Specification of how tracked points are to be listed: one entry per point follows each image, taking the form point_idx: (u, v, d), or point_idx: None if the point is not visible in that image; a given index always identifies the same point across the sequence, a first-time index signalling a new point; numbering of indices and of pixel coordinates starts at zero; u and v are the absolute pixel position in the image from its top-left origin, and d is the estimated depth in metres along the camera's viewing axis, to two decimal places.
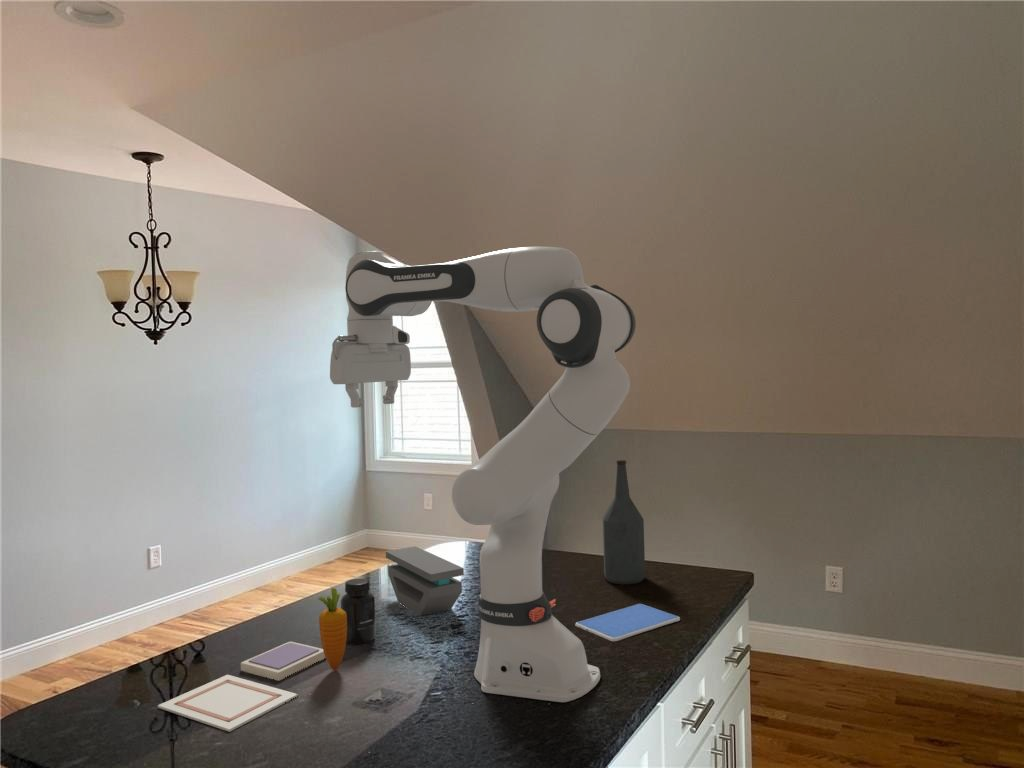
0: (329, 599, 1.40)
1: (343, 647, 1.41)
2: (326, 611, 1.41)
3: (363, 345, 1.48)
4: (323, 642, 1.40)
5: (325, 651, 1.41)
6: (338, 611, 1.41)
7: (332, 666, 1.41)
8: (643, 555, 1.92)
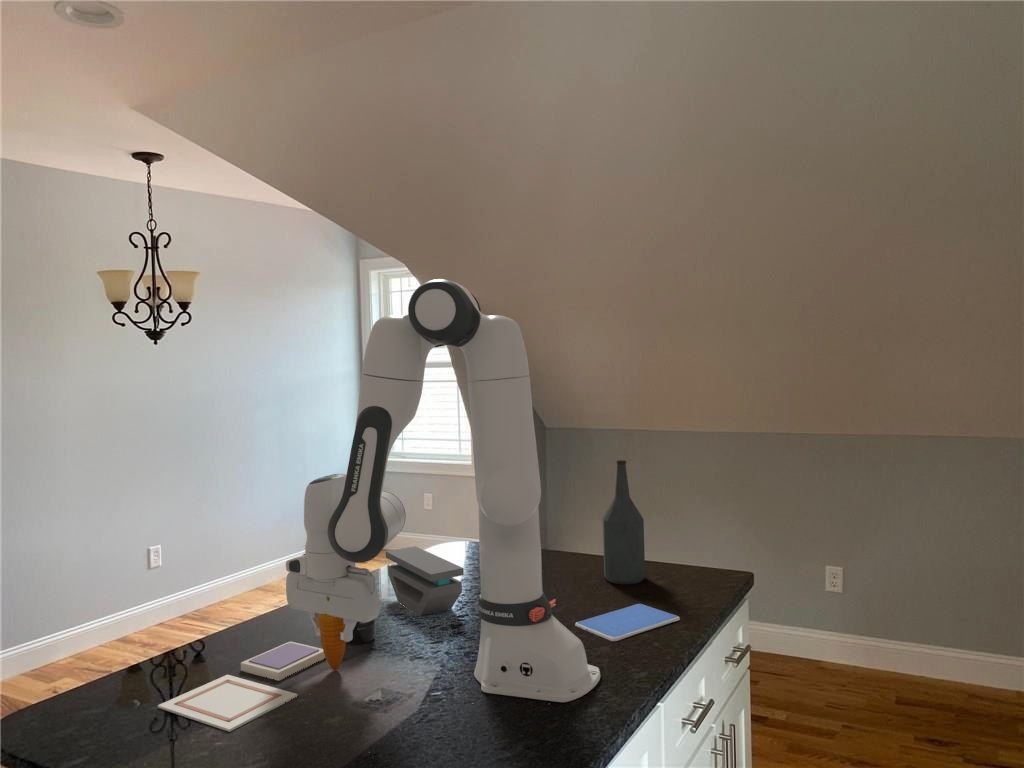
0: None
1: (343, 647, 1.41)
2: None
3: None
4: (323, 642, 1.40)
5: (325, 651, 1.41)
6: None
7: (332, 666, 1.41)
8: (643, 555, 1.92)
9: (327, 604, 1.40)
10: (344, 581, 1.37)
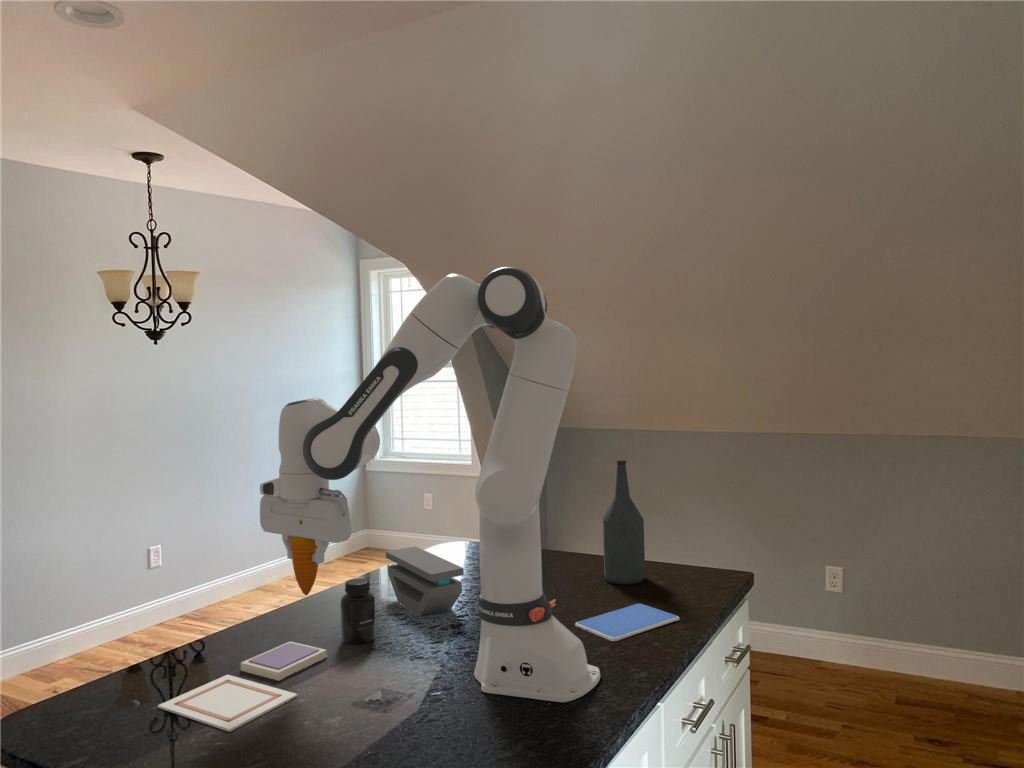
0: (301, 523, 1.41)
1: (314, 571, 1.43)
2: None
3: None
4: (295, 566, 1.42)
5: (296, 575, 1.42)
6: None
7: (303, 590, 1.42)
8: (643, 555, 1.92)
9: (300, 526, 1.41)
10: (316, 502, 1.39)
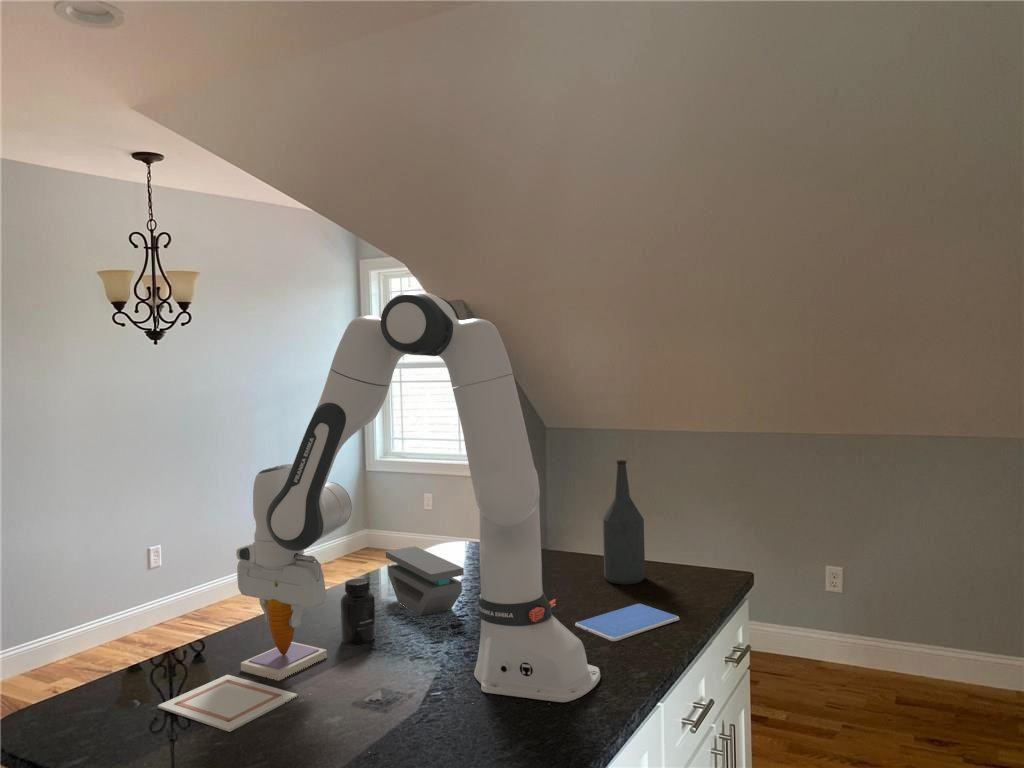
0: (277, 585, 1.43)
1: (291, 632, 1.45)
2: None
3: None
4: (271, 627, 1.44)
5: (273, 636, 1.44)
6: None
7: (280, 650, 1.45)
8: (643, 555, 1.92)
9: (276, 591, 1.44)
10: (291, 568, 1.41)
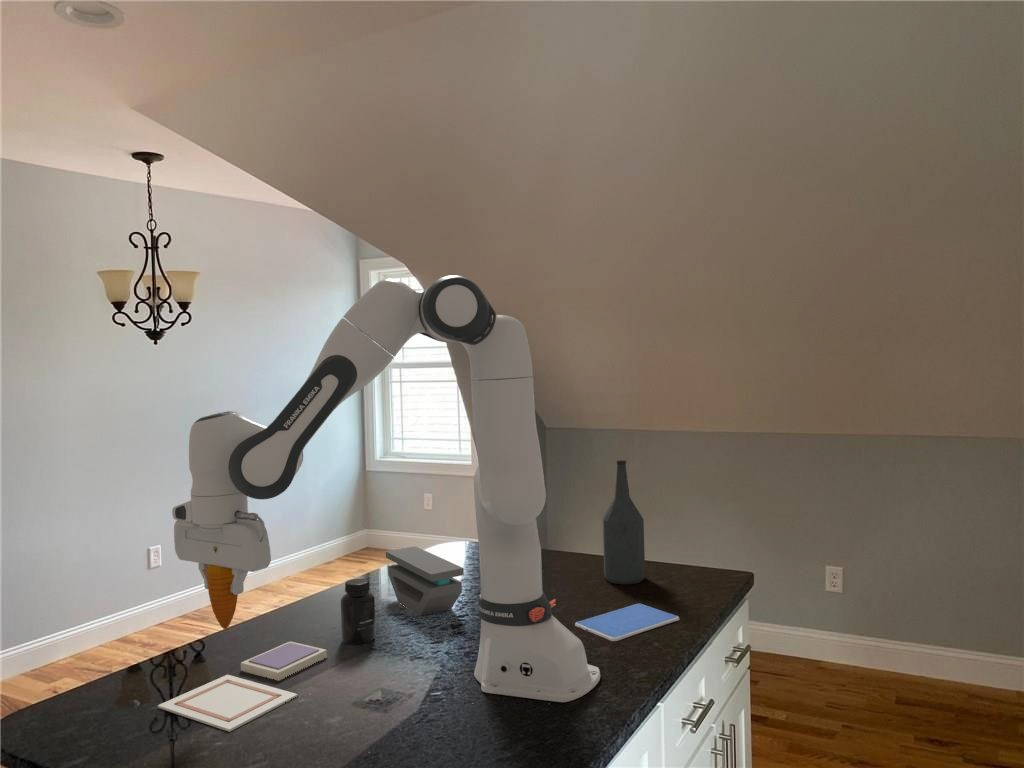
0: (216, 550, 1.27)
1: (233, 603, 1.29)
2: None
3: None
4: (210, 597, 1.28)
5: (213, 607, 1.28)
6: None
7: (221, 624, 1.29)
8: (643, 555, 1.92)
9: (215, 553, 1.28)
10: (231, 527, 1.25)
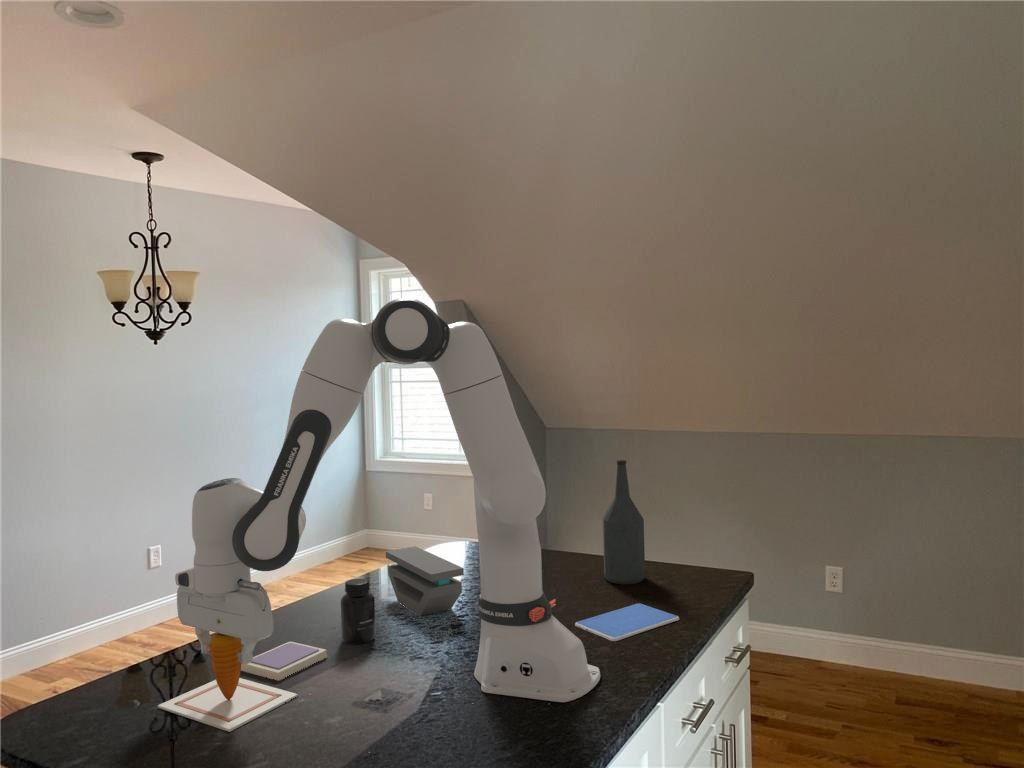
0: None
1: (237, 674, 1.30)
2: (218, 635, 1.29)
3: None
4: (214, 669, 1.29)
5: (216, 678, 1.29)
6: None
7: (225, 695, 1.29)
8: (643, 555, 1.92)
9: None
10: (234, 596, 1.26)
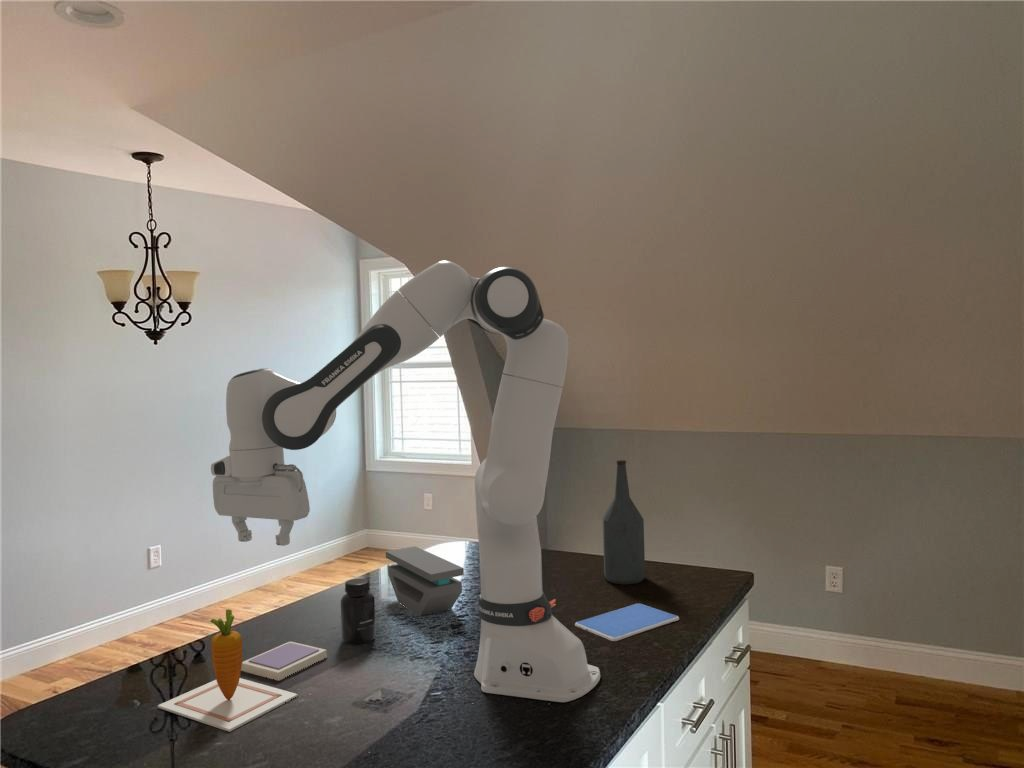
0: (221, 622, 1.28)
1: (237, 674, 1.30)
2: (218, 635, 1.29)
3: None
4: (215, 669, 1.29)
5: (217, 678, 1.29)
6: (232, 635, 1.29)
7: (225, 695, 1.29)
8: (643, 555, 1.92)
9: (255, 506, 1.32)
10: (270, 479, 1.29)
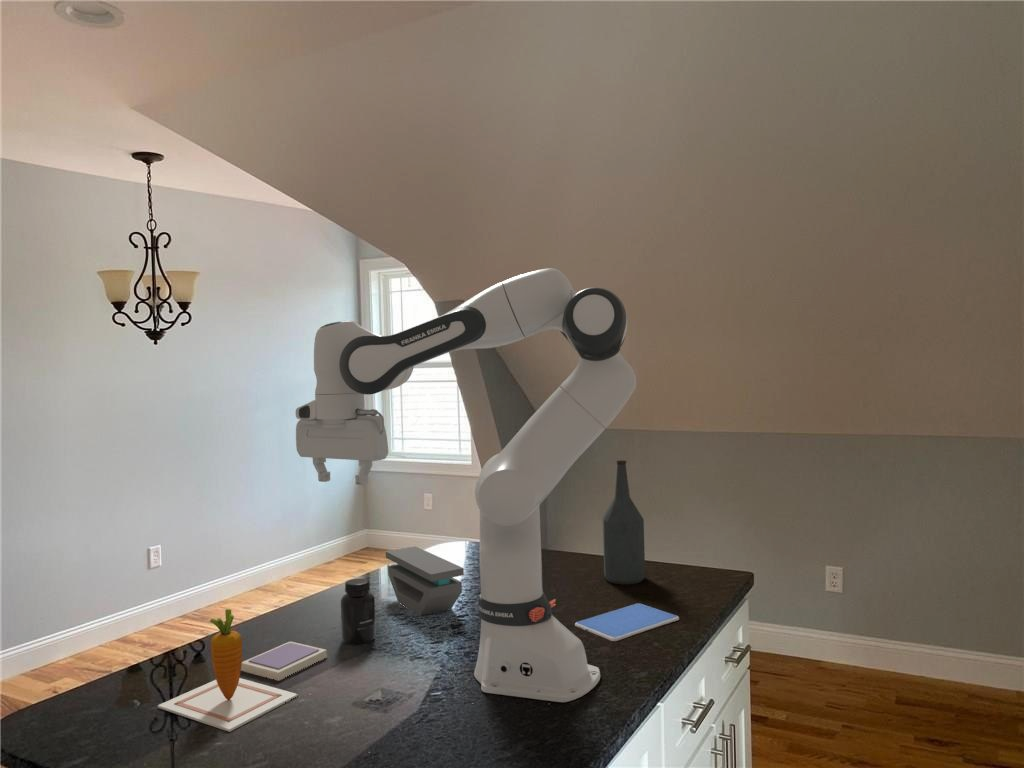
0: (220, 622, 1.28)
1: (237, 674, 1.30)
2: (218, 635, 1.29)
3: None
4: (214, 669, 1.29)
5: (217, 678, 1.29)
6: (231, 635, 1.29)
7: (225, 695, 1.29)
8: (643, 555, 1.92)
9: (337, 447, 1.42)
10: (353, 422, 1.40)
